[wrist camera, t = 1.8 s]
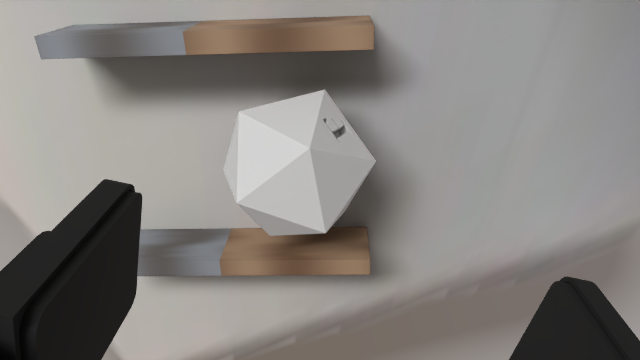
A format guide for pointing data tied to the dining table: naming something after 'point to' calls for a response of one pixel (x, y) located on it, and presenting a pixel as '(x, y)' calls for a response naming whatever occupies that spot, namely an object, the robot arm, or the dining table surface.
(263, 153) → the die
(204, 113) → the dining table surface
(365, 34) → the channel
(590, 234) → the dining table surface
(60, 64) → the dining table surface
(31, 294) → the robot arm
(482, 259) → the dining table surface
